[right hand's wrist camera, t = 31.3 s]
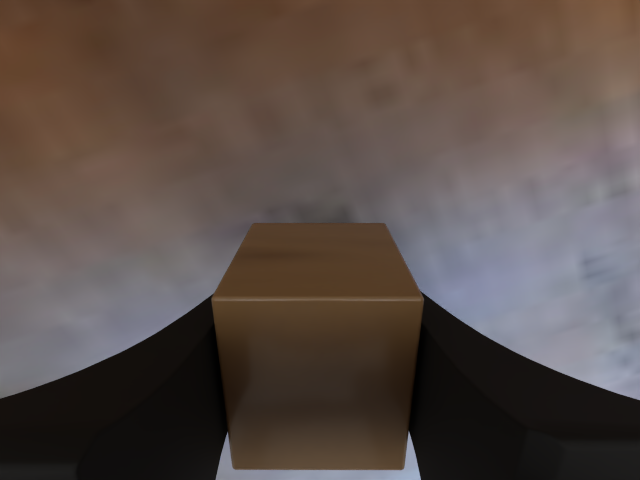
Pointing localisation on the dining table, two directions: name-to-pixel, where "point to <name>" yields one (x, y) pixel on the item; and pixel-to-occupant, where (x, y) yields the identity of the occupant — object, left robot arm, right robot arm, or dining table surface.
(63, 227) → the dining table surface
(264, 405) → the brown cube-like block
